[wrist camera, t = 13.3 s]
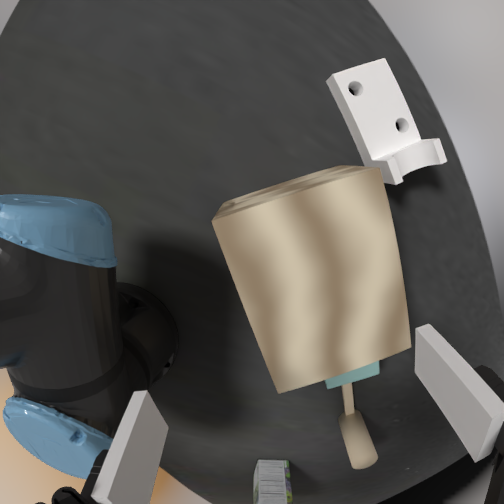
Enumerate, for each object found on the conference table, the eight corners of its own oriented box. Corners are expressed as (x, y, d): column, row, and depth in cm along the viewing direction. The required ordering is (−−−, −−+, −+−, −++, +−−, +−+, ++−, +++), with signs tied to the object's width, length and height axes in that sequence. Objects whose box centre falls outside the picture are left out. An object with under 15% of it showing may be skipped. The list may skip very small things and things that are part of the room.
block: (330, 430, 47) (342, 474, 37) (311, 321, 41) (327, 365, 31) (369, 419, 47) (387, 460, 37) (361, 307, 41) (389, 346, 31)
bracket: (414, 159, 36) (447, 161, 28) (369, 180, 36) (395, 185, 29) (373, 65, 32) (399, 47, 25) (325, 81, 33) (342, 64, 26)
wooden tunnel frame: (270, 334, 41) (278, 393, 30) (223, 202, 37) (211, 221, 25) (372, 299, 40) (411, 347, 29) (339, 165, 36) (379, 167, 24)
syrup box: (282, 475, 50) (288, 535, 37) (252, 474, 50) (252, 535, 36) (288, 459, 49) (296, 523, 35) (256, 458, 49) (258, 523, 35)
